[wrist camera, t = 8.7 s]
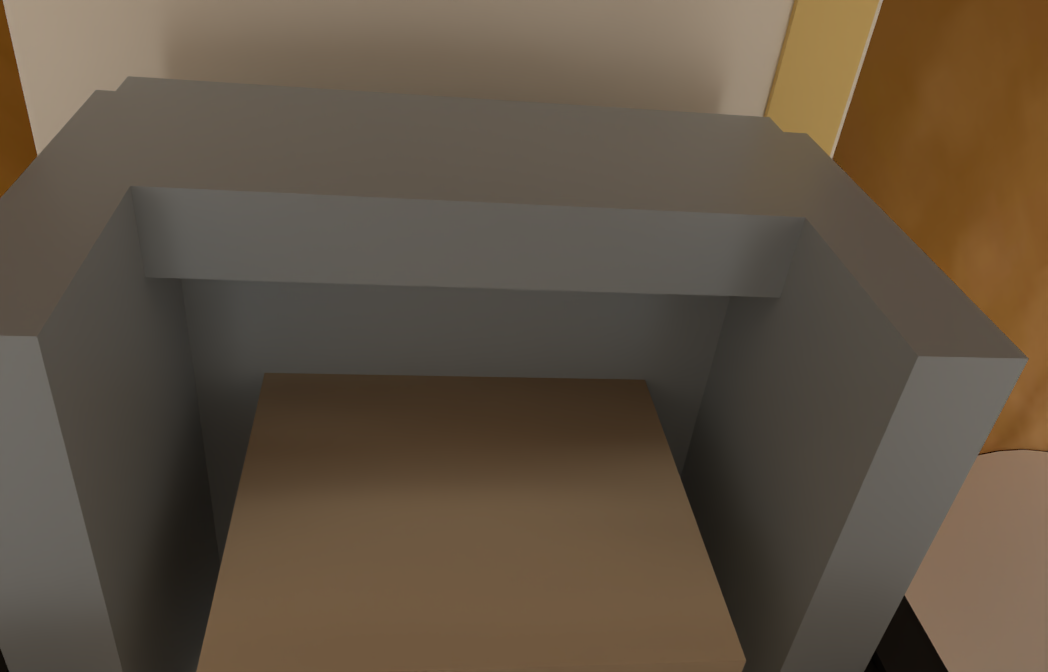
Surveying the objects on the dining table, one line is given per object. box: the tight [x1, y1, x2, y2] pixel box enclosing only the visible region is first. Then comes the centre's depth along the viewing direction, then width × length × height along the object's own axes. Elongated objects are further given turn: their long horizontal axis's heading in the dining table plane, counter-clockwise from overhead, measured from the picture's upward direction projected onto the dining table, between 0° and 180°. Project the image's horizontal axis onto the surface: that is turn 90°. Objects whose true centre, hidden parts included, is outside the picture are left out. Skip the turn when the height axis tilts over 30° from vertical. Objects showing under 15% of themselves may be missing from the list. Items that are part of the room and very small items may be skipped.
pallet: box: [0, 76, 1028, 672], centre depth 10 cm, size 10×7×5 cm
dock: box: [3, 0, 883, 159], centre depth 15 cm, size 15×10×4 cm, turn 174°
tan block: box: [196, 373, 746, 672], centre depth 9 cm, size 5×4×4 cm
